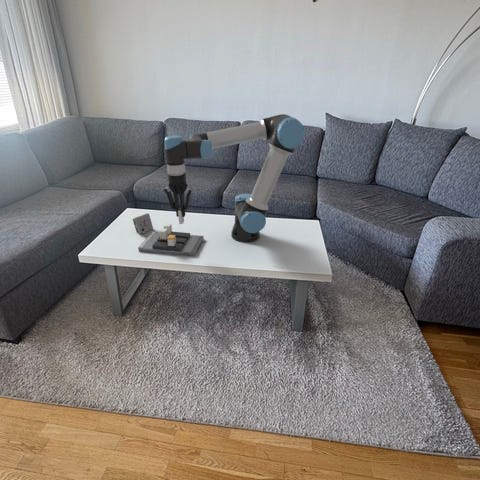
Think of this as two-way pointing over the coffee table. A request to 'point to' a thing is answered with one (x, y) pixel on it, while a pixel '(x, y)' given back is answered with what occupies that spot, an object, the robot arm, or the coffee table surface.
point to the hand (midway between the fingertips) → (181, 222)
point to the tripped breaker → (171, 240)
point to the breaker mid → (163, 233)
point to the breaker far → (168, 228)
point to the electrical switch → (143, 223)
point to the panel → (183, 252)
